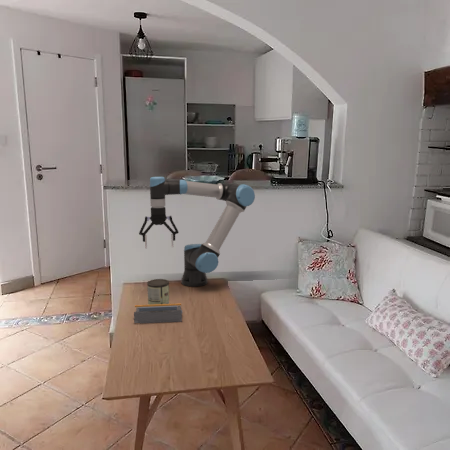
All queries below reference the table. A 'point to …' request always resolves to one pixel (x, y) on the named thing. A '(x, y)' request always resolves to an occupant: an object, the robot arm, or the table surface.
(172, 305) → the carriage
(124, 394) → the table surface
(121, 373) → the table surface
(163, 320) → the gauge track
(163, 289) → the coffee can
